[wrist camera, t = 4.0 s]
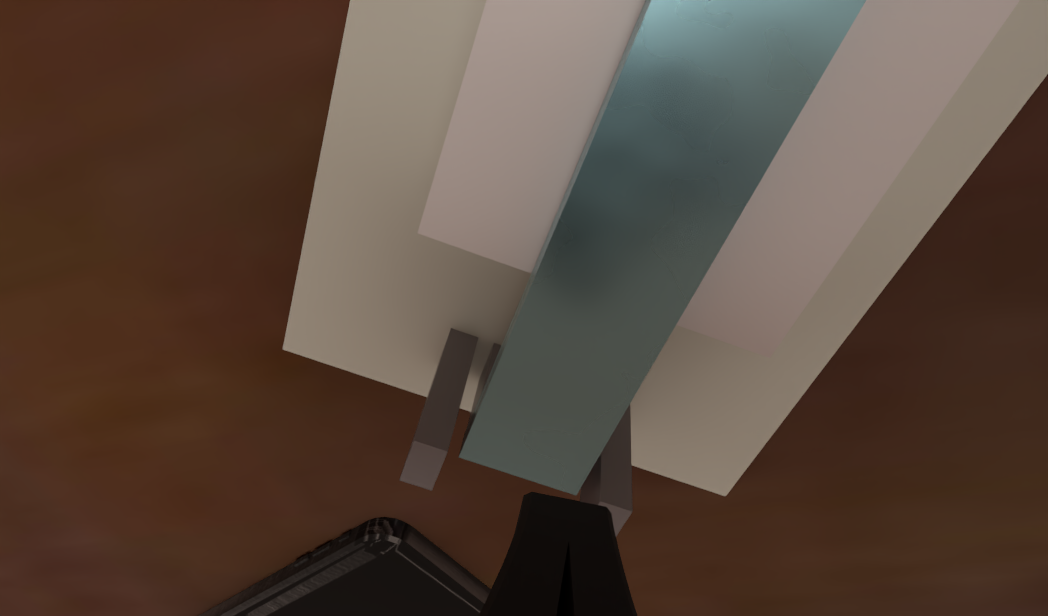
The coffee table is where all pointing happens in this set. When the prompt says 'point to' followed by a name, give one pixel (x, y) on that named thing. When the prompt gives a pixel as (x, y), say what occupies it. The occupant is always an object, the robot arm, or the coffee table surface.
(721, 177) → the retention strap
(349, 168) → the socket board
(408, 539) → the phone
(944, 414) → the coffee table surface
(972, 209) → the coffee table surface
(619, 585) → the robot arm
